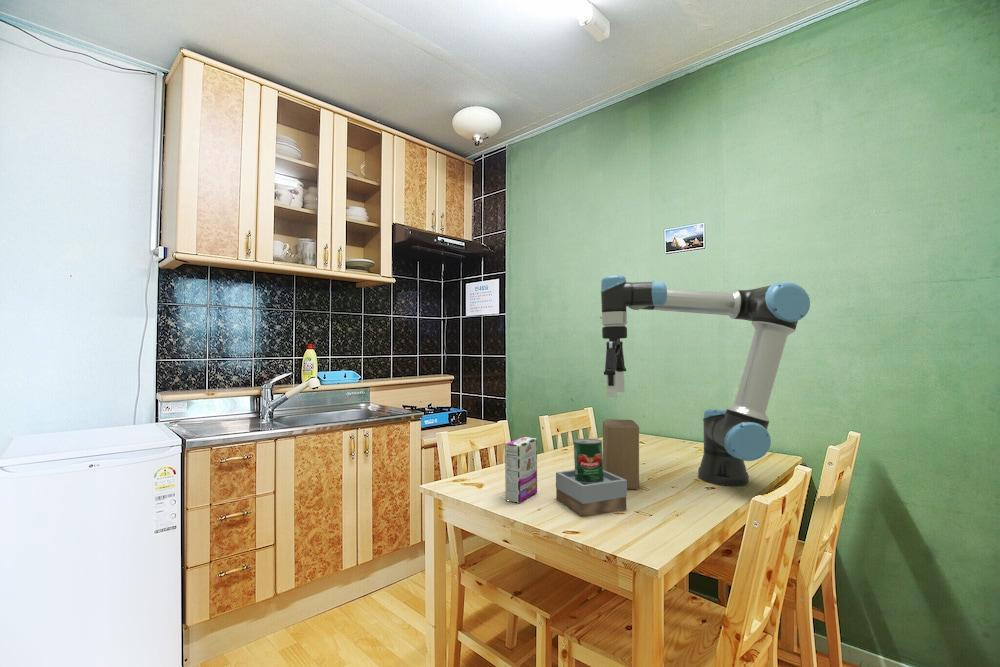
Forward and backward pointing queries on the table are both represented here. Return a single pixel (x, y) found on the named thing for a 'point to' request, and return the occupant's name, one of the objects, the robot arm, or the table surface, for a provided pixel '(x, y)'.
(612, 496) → the slate grey tray
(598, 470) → the canned tomato
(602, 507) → the walnut block
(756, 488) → the table surface
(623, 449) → the block
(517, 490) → the candy bar box
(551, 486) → the table surface
